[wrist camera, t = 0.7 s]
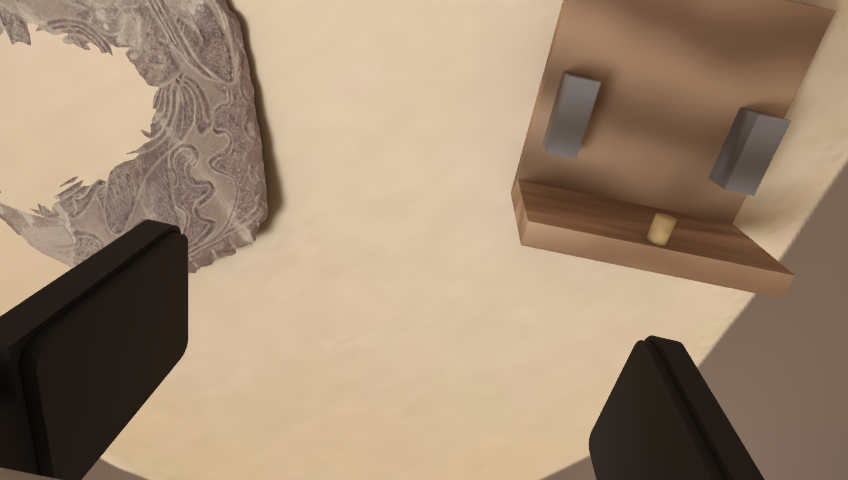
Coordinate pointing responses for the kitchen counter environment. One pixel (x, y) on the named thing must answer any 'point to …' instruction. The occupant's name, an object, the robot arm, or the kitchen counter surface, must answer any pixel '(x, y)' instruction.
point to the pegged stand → (663, 133)
